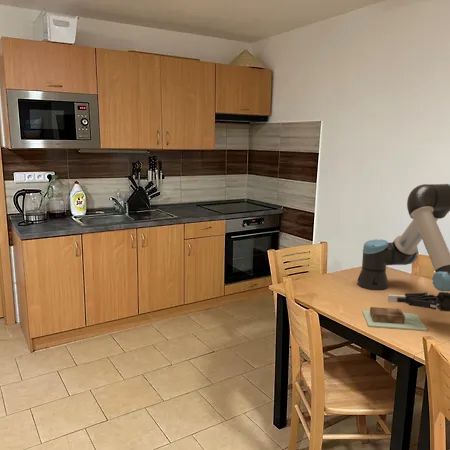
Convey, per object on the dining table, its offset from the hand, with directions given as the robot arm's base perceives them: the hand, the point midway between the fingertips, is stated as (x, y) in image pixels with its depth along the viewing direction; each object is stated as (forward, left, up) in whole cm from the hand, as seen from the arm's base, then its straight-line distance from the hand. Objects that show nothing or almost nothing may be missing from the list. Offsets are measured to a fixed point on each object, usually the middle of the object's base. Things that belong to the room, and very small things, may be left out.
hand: (388, 298), depth 173 cm
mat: (+2, +2, -10) cm, 10 cm away
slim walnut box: (+4, +4, -7) cm, 10 cm away
